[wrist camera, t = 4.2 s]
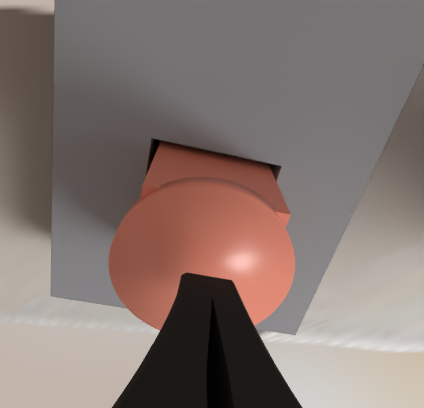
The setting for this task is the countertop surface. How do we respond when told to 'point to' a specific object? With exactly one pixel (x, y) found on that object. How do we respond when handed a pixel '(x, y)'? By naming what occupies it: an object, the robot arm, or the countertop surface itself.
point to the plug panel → (223, 115)
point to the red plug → (203, 233)
